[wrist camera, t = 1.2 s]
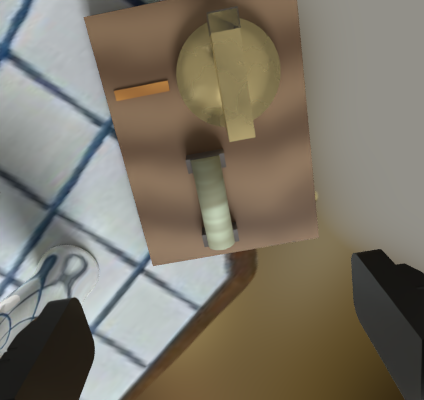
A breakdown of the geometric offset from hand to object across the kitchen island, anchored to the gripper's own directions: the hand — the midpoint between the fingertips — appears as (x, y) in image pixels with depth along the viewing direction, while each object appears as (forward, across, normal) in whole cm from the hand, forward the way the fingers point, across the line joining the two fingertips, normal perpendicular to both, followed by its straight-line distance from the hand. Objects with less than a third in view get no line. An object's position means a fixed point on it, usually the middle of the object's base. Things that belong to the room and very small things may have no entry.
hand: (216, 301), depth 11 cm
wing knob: (+22, -2, -5) cm, 23 cm away
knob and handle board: (+24, 0, 0) cm, 25 cm away
